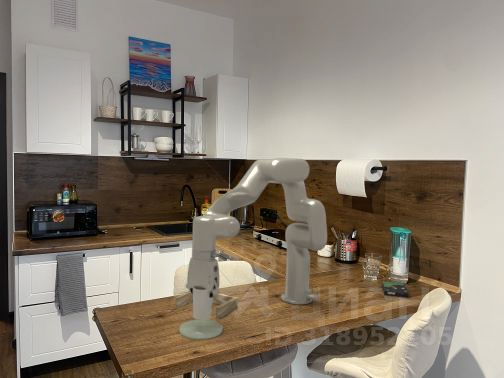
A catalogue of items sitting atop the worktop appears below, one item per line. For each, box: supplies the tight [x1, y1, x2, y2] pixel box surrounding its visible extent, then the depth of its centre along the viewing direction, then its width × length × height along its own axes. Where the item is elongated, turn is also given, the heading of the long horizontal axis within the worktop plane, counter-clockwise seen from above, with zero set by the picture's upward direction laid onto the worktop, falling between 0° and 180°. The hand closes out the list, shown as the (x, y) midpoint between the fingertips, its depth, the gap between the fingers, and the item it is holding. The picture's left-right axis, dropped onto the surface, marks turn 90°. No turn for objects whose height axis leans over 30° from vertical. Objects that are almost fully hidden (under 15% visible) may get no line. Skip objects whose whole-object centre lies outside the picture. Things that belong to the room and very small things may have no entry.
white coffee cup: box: [192, 287, 214, 320], centre depth 131 cm, size 7×7×10 cm
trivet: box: [179, 319, 224, 341], centre depth 132 cm, size 14×14×1 cm
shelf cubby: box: [174, 290, 239, 320], centre depth 152 cm, size 19×13×4 cm
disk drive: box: [381, 281, 410, 299], centre depth 181 cm, size 10×3×15 cm
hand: (201, 309), depth 131 cm, fingers closed on white coffee cup, 2 cm apart
